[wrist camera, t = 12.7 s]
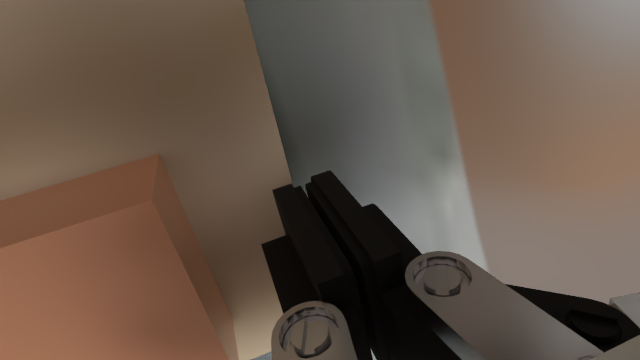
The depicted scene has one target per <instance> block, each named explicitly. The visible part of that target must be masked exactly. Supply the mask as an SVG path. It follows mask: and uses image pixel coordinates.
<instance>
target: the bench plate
mask: <svg viewBox="0 0 640 360" xmlns="http://www.w3.org/2000/svg"><path fill="white" fill-rule="evenodd" d="M157 154H159V155H160V157H161V160H162V162H163V164H164V166H165V169H166V171H167V173H168V175H169V178H170V180H171V182H172V184H173V187H174V189H175V191H176V194H177V196H178V198H179V200H180V203H181V205H182V207H183V209H184V212H185V214H186V216H187V218H188V221H189V223H190V225H191V227H192V230H193V232H194V234H195V236H196V239H197V241H198V243H199V245H200V248H201V250H202V252H203V254H204V257H205V259H206V261H207V263H208V266H209V268H210V270H211V272H212V275H213V277H214V279H215V281H216V284H217V286H218V288H219V291H220V293H221V295H222V297H223V300H224V302H225V304H226V306H227V309H228V311H229V313H230V315H231V318H232V320H233V325H234V332H235V338H236V344H237V351H238V357H239V360H251V359H253V358H256V357H258V356H261V355H263V354H265V353H268V352H270V351H272V350H271V337H272V331H273V328H274V326H275V324H276V322H277V321H278V320H279V318H280V317H281V316H282V315H283V311H282V308H281V305H280V302H279V299H278V296H277V293H276V289H275V286H274V283H273V280H272V277H271V274H270V271H269V268H268V264H267V261H266V258H265V255H264V252H263V249H262V246H261V244H263V243H265V242H268V241H271V240H274V239H276V238H279V237H282V236H285V235H286V234H285V231H284V228H283V225H282V221H281V218H280V215H279V212H278V208H277V205H276V202H275V199H274V195H273V191H272V190H273V189H276V188H279V187H282V186H285V185H288V184H292V185H293V183H292V179H291V176H290V172H289V168H288V164H287V161H286V157H285V153H284V149H283V146H282V142H281V138H280V134H279V131H278V127H277V123H276V119H275V116H274V112H273V108H272V104H271V100H270V97H269V93H268V89H267V85H266V82H265V78H264V74H263V70H262V67H261V63H260V59H259V55H258V52H257V48H256V44H255V40H254V36H253V33H252V29H251V25H250V21H249V18H248V14H247V10H246V6H245V3H244V0H0V201H2V200H5V199H9V198H12V197H15V196H19V195H22V194H25V193H29V192H32V191H35V190H39V189H42V188H46V187H49V186H52V185H56V184H59V183H62V182H66V181H69V180H73V179H76V178H79V177H83V176H86V175H89V174H93V173H96V172H99V171H103V170H106V169H110V168H113V167H116V166H120V165H123V164H126V163H130V162H133V161H137V160H140V159H143V158H147V157H150V156H153V155H157Z"/></svg>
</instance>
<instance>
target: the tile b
mask: <svg viewBox="0 0 640 360" xmlns="http://www.w3.org/2000/svg"><path fill="white" fill-rule="evenodd" d="M0 360H239V357H238V351H237V344H236V338H235V332H234V325H233V320H232V318H231V315H230V313H229V311H228V309H227V306H226V304H225V302H224V300H223V297H222V295H221V293H220V291H219V288H218V286H217V284H216V281H215V279H214V277H213V275H212V272H211V270H210V268H209V266H208V263H207V261H206V259H205V257H204V254H203V252H202V250H201V248H200V245H199V243H198V241H197V239H196V236H195V234H194V232H193V230H192V227H191V225H190V223H189V221H188V218H187V216H186V214H185V212H184V209H183V207H182V205H181V203H180V200H179V198H178V196H177V194H176V191H175V189H174V187H173V184H172V182H171V180H170V178H169V175H168V173H167V171H166V169H165V166H164V164H163V162H162V160H161V157H160V155H159V154H157V155H153V156H150V157H147V158H143V159H140V160H137V161H133V162H130V163H126V164H123V165H120V166H116V167H113V168H110V169H106V170H103V171H99V172H96V173H93V174H89V175H86V176H83V177H79V178H76V179H73V180H69V181H66V182H62V183H59V184H56V185H52V186H49V187H46V188H42V189H39V190H35V191H32V192H29V193H25V194H22V195H19V196H15V197H12V198H9V199H5V200H2V201H0Z"/></svg>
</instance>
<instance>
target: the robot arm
mask: <svg viewBox="0 0 640 360" xmlns="http://www.w3.org/2000/svg"><path fill="white" fill-rule="evenodd" d="M306 190H307V194H308V197H307V195H306V194H305V192H304V191H303V189H302V187H301V186H298V187H295V188H294V187H293V185H292V184H288V185H285V186H282V187H279V188H276V189H273V190H272V191H273V195H274V199H275V202H276V205H277V208H278V212H279V215H280V218H281V221H282V225H283V228H284V231H285V234H286V235H285V236H282V237H279V238H276V239H274V240H271V241H268V242H265V243H263V244H261V246H262V249H263V252H264V255H265V258H266V261H267V264H268V268H269V271H270V274H271V277H272V280H273V283H274V286H275V289H276V293H277V296H278V299H279V302H280V305H281V308H282V311H283V315H282V316H281V317H280V318H279V320H278V321H277V322H276V324H275V326H274V328H273V331H272V337H271V350H272V360H373V359H372V354H371V350H372V352H373V354H374V355H375V357H376V359H377V360H640V292H639V293H635V294H629V295H624V296H619V297H615V298H610V301H609V304H608V305H607V304H605V303H602V302H599V301H595V300H592V299H587V298H582V297H576V296H570V295H564V294H558V293H553V292H547V291H542V290H536V289H530V288H524V287H518V286H513V285H507V284H504V283H502V282H501V281H499V280H498V279H496V278H495V277H494V276H492V275H491V274H489V273H488V272H486V271H485V270H483V269H482V268H481V267H479V266H478V265H476V264H475V263H473V262H472V261H470V260H469V259H467V258H465V257H463V256H461V255H459V254H456V253H452V252H445V251H435V252H428V253H425V254H423V255H422V253H421V252H420V251H419V250H418V249H417V248H416V247H415V246H414V245H413V244H412V243H411V242H410V241H409V240H408V239H407V238H406V236H405V235H404V234H403V233H402V232H401V231H400V230H399V229H398V228H397V227H396V226H395V225H394V224H393V223H392V222H391V221H390V219H389V218H388V217H387V216H386V215H385V214H384V213H383V212H382V211H381V210H380V209H379V208H378V207H377V206H376V205H375V204H369V205H367V206H364V207H362V206H361V205H360V204H359V203H358V202H357V200H356V199H355V198H354V197H353V196H352V195H351V194H350V192H349V191H348V190H347V189H346V188H345V187H344V185H343V184H342V183H341V182H340V181H339V180H338V179H337V177H336V176H335V175H334V174H333V173H332V172H331V171H326V172H324V173H321V174H318V175H315V176H312V177H311V182H310V183H307V184H306ZM370 348H371V349H370Z"/></svg>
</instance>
